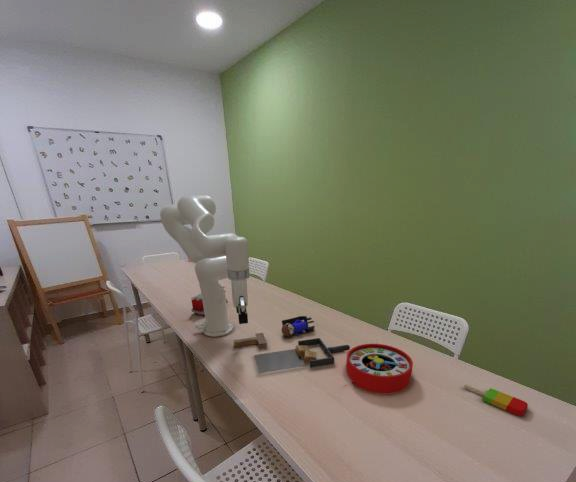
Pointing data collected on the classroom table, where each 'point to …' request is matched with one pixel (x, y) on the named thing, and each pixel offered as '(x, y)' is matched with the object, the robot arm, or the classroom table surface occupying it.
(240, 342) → the brush
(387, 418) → the classroom table surface
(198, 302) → the toy fire truck
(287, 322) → the character figurine
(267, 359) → the tray
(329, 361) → the dustpan
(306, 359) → the cork chip
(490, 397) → the popsicle
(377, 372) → the toy clock
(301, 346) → the cork chip
